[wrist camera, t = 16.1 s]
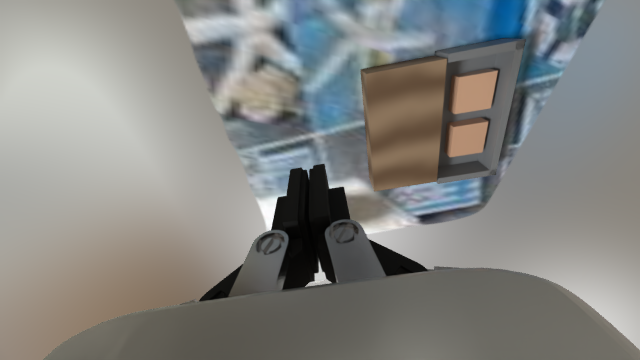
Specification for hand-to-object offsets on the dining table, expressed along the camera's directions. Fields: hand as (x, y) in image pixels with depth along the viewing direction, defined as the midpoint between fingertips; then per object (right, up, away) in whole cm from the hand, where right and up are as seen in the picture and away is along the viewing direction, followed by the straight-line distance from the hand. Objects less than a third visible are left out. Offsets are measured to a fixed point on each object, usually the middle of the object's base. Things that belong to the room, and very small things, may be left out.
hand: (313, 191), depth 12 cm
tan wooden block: (+12, +9, +27) cm, 31 cm away
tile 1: (+23, +7, +25) cm, 35 cm away
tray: (+22, +11, +26) cm, 36 cm away
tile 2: (+22, +13, +22) cm, 33 cm away
